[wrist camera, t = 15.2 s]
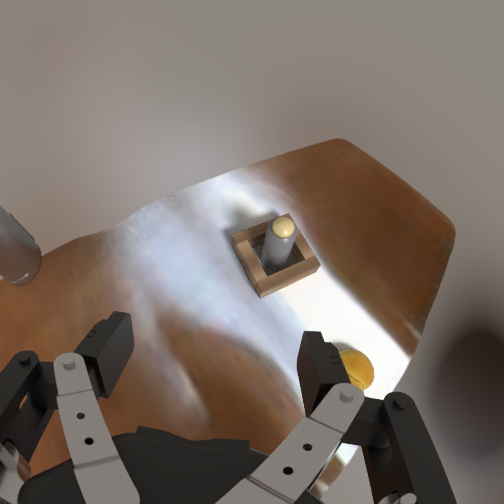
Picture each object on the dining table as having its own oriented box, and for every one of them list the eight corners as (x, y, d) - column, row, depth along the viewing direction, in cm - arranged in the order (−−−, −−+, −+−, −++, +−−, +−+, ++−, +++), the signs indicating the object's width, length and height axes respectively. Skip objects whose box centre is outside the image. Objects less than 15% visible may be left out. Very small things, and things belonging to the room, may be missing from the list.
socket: (231, 244, 47) (231, 234, 45) (285, 222, 50) (288, 213, 47) (259, 298, 44) (261, 292, 41) (315, 272, 46) (320, 264, 43)
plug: (256, 253, 47) (262, 219, 38) (278, 244, 48) (289, 209, 39) (268, 274, 45) (277, 243, 37) (290, 264, 46) (304, 232, 38)
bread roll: (377, 368, 40) (389, 365, 36) (345, 416, 36) (356, 418, 33) (337, 339, 42) (347, 334, 38) (303, 387, 38) (310, 386, 35)
